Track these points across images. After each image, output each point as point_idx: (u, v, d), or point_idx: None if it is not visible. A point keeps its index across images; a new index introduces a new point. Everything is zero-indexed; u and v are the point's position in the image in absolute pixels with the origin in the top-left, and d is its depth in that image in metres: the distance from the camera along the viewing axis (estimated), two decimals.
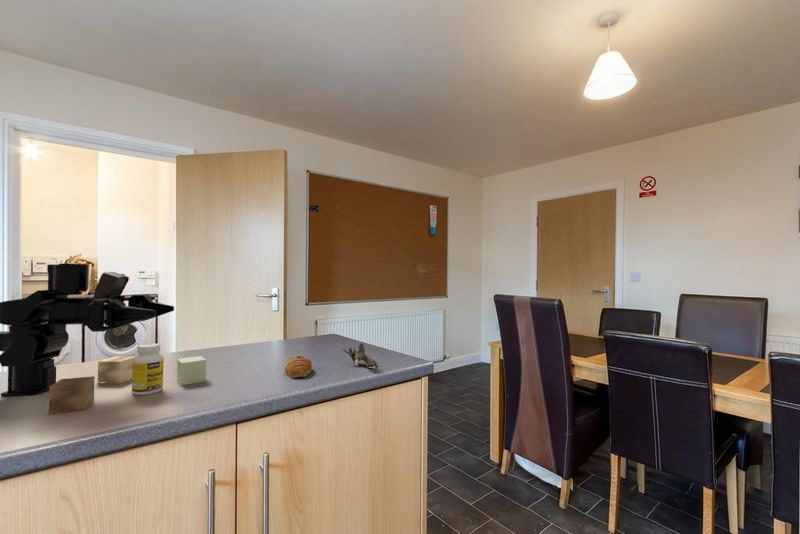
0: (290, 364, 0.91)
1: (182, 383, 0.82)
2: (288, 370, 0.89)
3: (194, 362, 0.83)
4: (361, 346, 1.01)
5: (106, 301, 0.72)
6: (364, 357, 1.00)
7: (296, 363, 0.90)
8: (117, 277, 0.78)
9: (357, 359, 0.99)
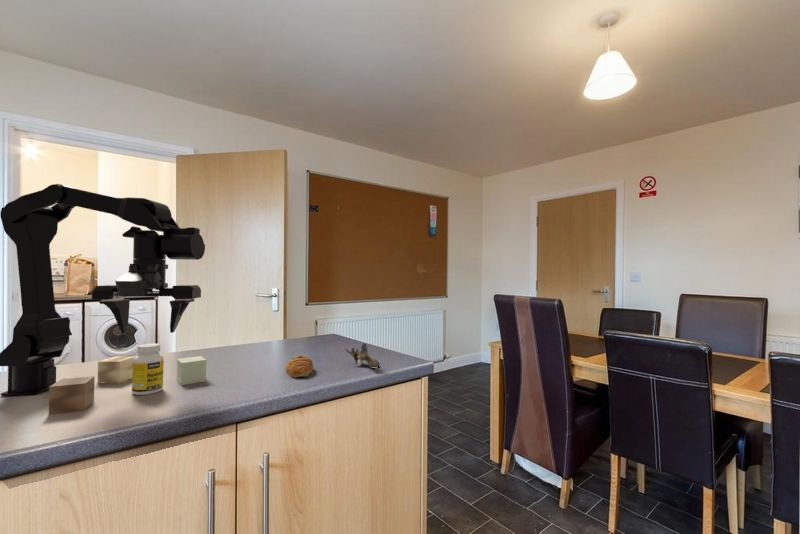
0: (291, 364, 0.91)
1: (182, 383, 0.82)
2: (289, 370, 0.89)
3: (194, 362, 0.83)
4: (364, 346, 1.00)
5: None
6: (367, 357, 0.99)
7: (297, 363, 0.90)
8: (118, 294, 0.70)
9: (360, 359, 0.99)
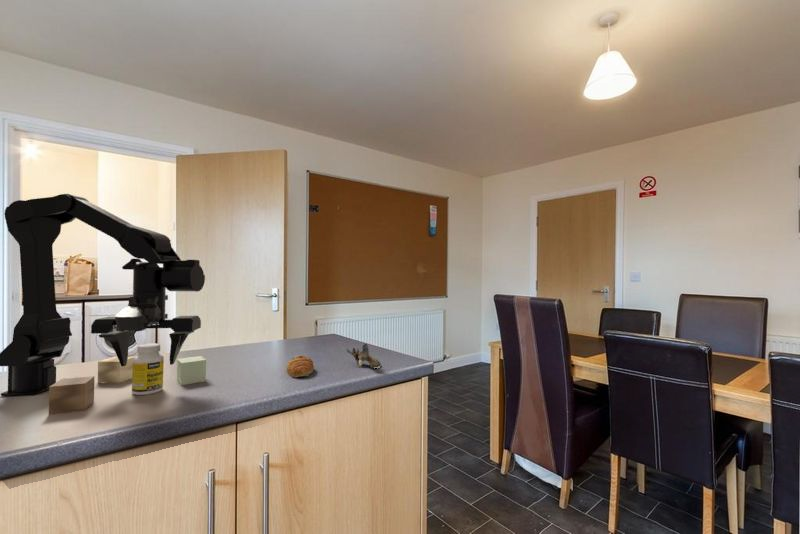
0: (292, 364, 0.91)
1: (182, 383, 0.82)
2: (290, 370, 0.89)
3: (194, 362, 0.83)
4: (365, 346, 1.00)
5: (98, 333, 0.73)
6: (368, 357, 0.99)
7: (298, 363, 0.91)
8: (118, 330, 0.70)
9: (361, 359, 0.99)
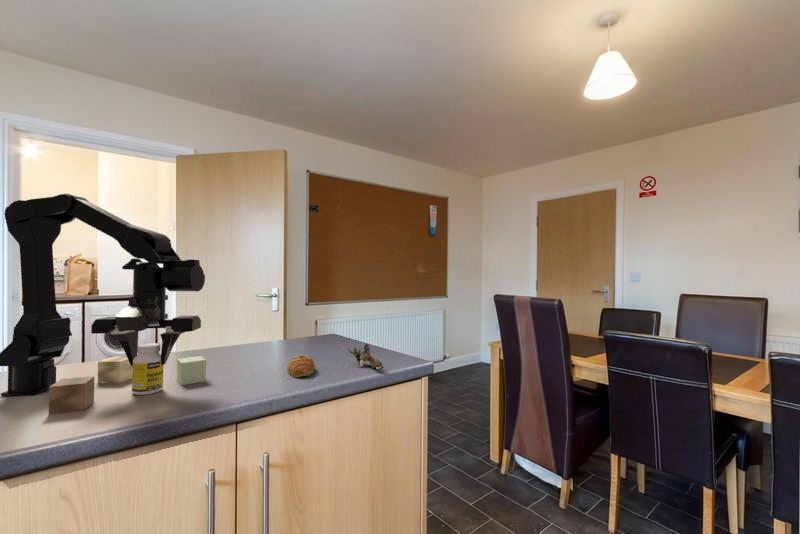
0: (293, 364, 0.91)
1: (182, 383, 0.82)
2: (291, 370, 0.89)
3: (194, 362, 0.83)
4: (366, 347, 1.00)
5: None
6: (369, 358, 0.99)
7: (299, 363, 0.91)
8: (118, 330, 0.70)
9: (362, 360, 0.99)
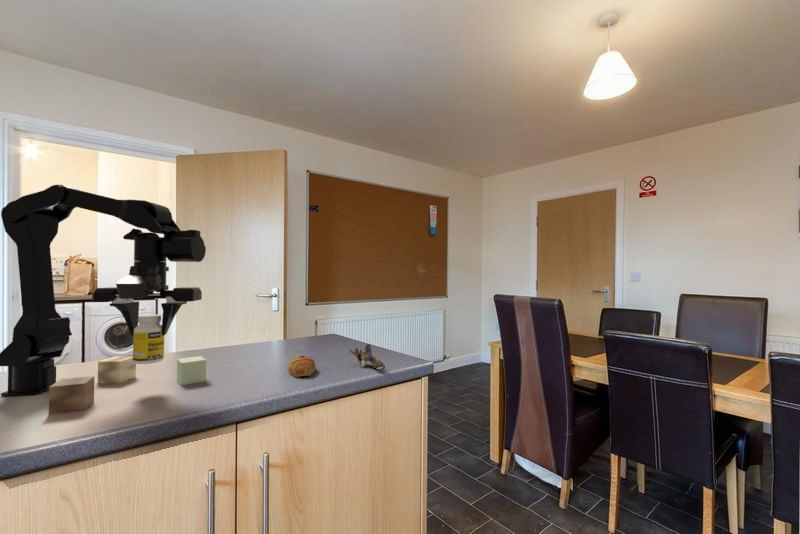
0: (294, 363, 0.91)
1: (182, 383, 0.82)
2: (292, 369, 0.89)
3: (194, 362, 0.83)
4: (367, 347, 1.00)
5: (99, 301, 0.73)
6: (371, 358, 0.99)
7: (300, 362, 0.91)
8: (119, 297, 0.70)
9: (364, 360, 0.98)
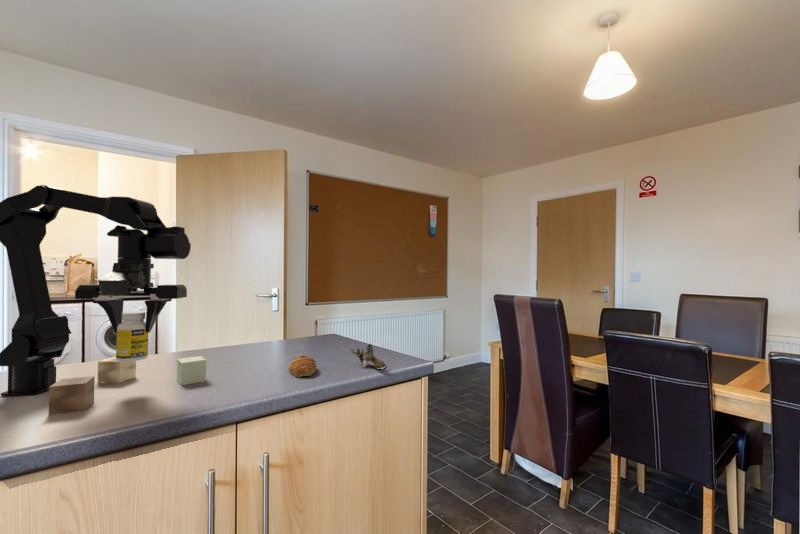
0: (295, 363, 0.91)
1: (182, 383, 0.82)
2: (293, 369, 0.90)
3: (194, 362, 0.83)
4: (369, 347, 0.99)
5: (82, 298, 0.73)
6: (372, 358, 0.99)
7: (301, 362, 0.91)
8: (101, 294, 0.69)
9: (365, 360, 0.98)
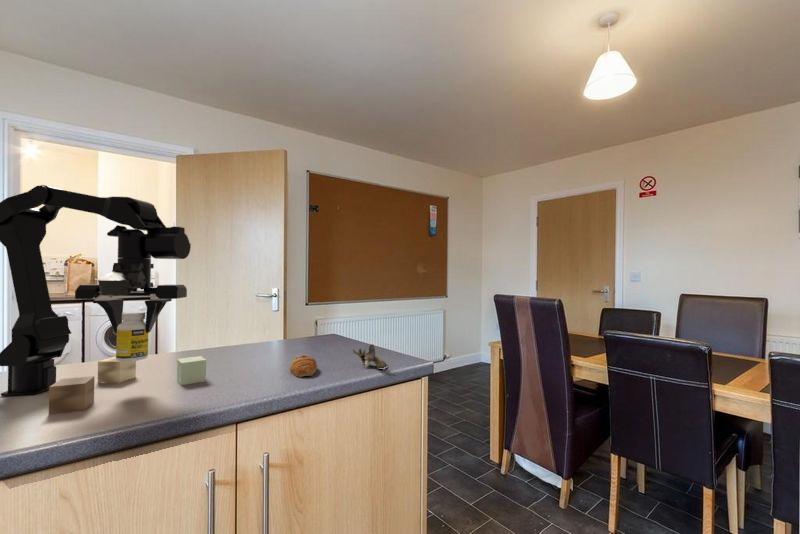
0: (296, 363, 0.91)
1: (182, 383, 0.82)
2: (294, 369, 0.90)
3: (194, 362, 0.83)
4: (371, 347, 0.99)
5: (82, 298, 0.73)
6: (374, 358, 0.98)
7: (302, 362, 0.91)
8: (101, 294, 0.69)
9: (367, 360, 0.98)
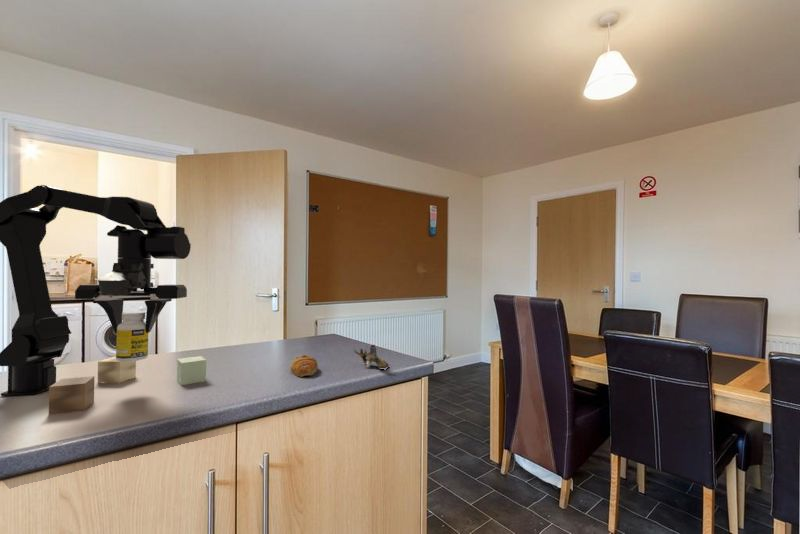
0: (296, 363, 0.91)
1: (182, 383, 0.82)
2: (295, 369, 0.90)
3: (194, 362, 0.83)
4: (372, 347, 0.99)
5: (82, 298, 0.73)
6: (376, 358, 0.98)
7: (303, 362, 0.91)
8: (101, 294, 0.69)
9: (368, 360, 0.98)
